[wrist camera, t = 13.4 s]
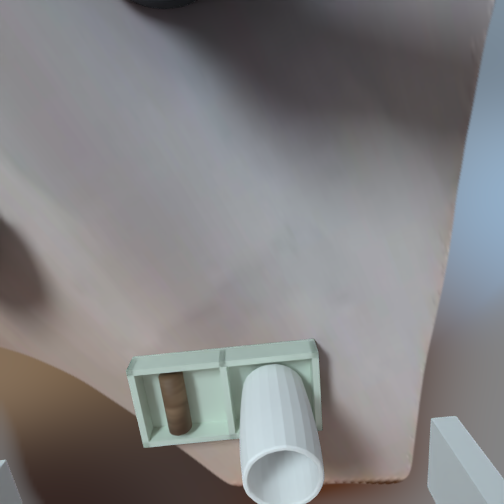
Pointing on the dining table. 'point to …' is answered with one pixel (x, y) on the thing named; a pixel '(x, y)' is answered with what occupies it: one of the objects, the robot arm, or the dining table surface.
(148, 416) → the caddy
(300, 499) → the cup
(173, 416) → the dowel
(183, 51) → the dining table surface
